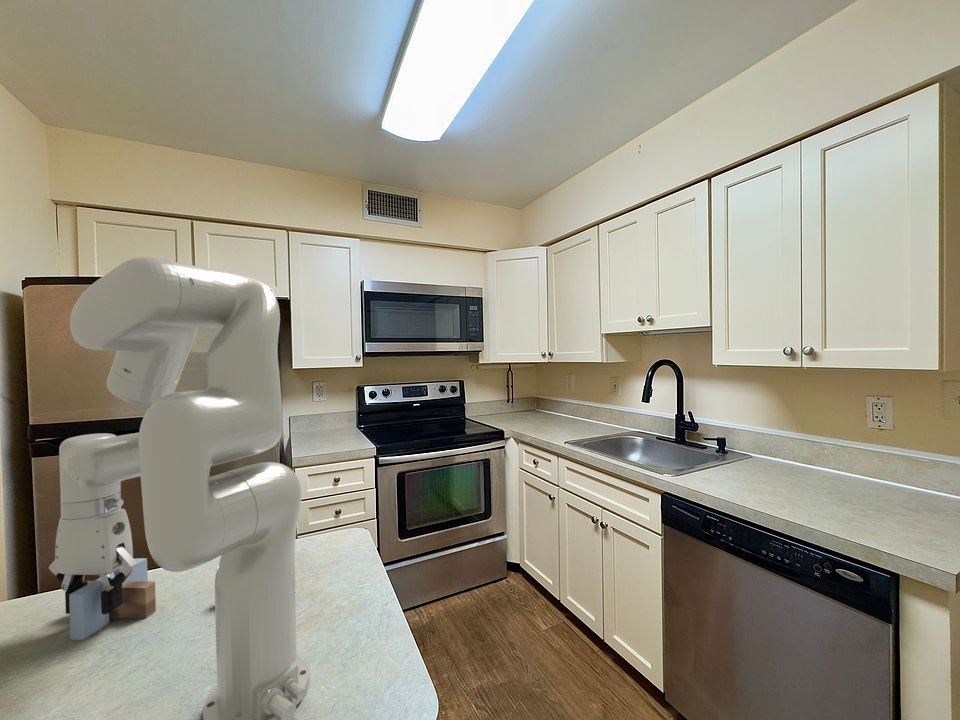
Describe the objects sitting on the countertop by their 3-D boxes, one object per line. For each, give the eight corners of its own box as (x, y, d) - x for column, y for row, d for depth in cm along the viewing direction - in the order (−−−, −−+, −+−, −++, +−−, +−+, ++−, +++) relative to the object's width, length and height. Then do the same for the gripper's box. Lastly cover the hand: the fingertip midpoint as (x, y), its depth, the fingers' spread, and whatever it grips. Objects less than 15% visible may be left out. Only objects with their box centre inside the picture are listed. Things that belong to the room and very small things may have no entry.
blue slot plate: (136, 596, 78) (135, 558, 78) (147, 596, 78) (147, 558, 78) (70, 639, 66) (69, 594, 66) (83, 639, 66) (82, 594, 66)
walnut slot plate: (155, 611, 74) (155, 581, 73) (146, 618, 72) (145, 587, 71) (84, 610, 74) (83, 580, 74) (72, 617, 72) (71, 587, 72)
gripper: (157, 498, 73) (160, 596, 73) (68, 498, 73) (71, 595, 74) (118, 514, 65) (121, 624, 65) (19, 514, 66) (22, 622, 66)
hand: (94, 608), depth 69 cm, fingers open, 5 cm apart
